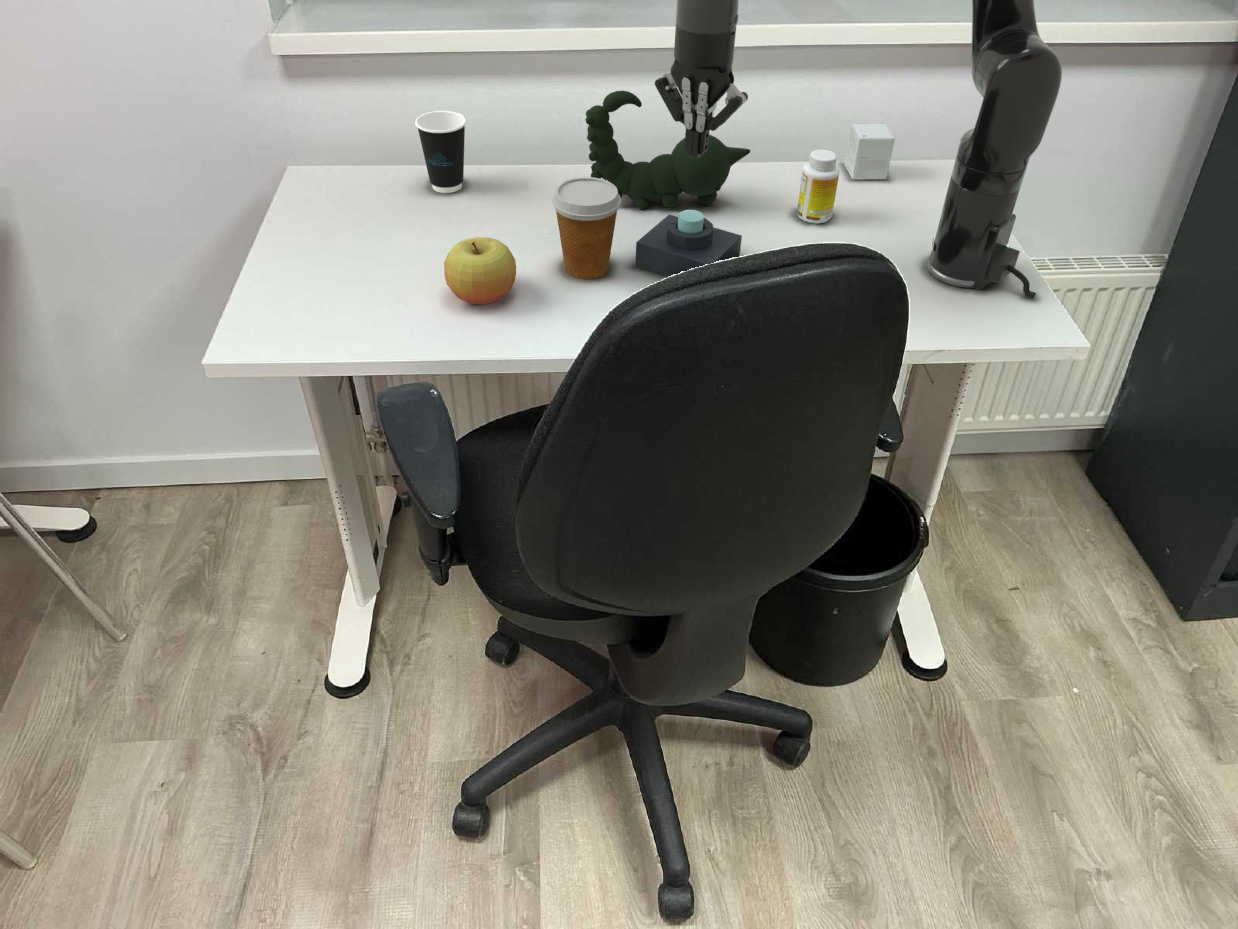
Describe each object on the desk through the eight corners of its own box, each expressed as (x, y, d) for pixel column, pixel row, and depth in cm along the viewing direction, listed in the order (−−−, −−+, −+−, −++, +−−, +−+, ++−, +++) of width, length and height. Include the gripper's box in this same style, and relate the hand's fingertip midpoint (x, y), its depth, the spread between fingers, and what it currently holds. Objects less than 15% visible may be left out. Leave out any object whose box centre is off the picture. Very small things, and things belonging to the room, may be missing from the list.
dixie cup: (432, 201, 158) (425, 134, 151) (415, 180, 163) (407, 115, 156) (479, 191, 161) (474, 125, 154) (461, 171, 166) (455, 106, 159)
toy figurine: (593, 224, 157) (752, 214, 156) (582, 106, 144) (754, 94, 143) (594, 196, 164) (746, 186, 163) (584, 81, 151) (748, 70, 150)
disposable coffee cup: (561, 289, 139) (560, 210, 131) (547, 255, 146) (545, 179, 138) (627, 280, 141) (629, 203, 133) (609, 248, 148) (611, 172, 140)
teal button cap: (707, 226, 142) (708, 213, 141) (695, 237, 140) (696, 223, 138) (684, 220, 143) (685, 207, 142) (673, 230, 141) (674, 217, 140)
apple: (448, 276, 141) (442, 225, 136) (516, 274, 142) (514, 223, 137) (445, 315, 134) (439, 262, 128) (518, 312, 135) (515, 260, 129)
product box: (887, 180, 167) (896, 138, 162) (851, 180, 167) (859, 138, 162) (878, 164, 172) (886, 122, 167) (843, 164, 171) (851, 122, 167)
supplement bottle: (838, 218, 157) (850, 156, 150) (814, 228, 154) (825, 165, 147) (812, 204, 160) (822, 143, 153) (788, 214, 157) (797, 153, 150)
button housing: (739, 259, 146) (743, 222, 142) (709, 290, 140) (712, 252, 136) (667, 238, 151) (669, 201, 147) (635, 266, 144) (636, 229, 140)
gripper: (644, 19, 123) (639, 153, 134) (741, 40, 118) (727, 177, 129) (673, 3, 128) (665, 134, 139) (767, 22, 123) (751, 156, 134)
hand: (695, 154), depth 134 cm, fingers closed
